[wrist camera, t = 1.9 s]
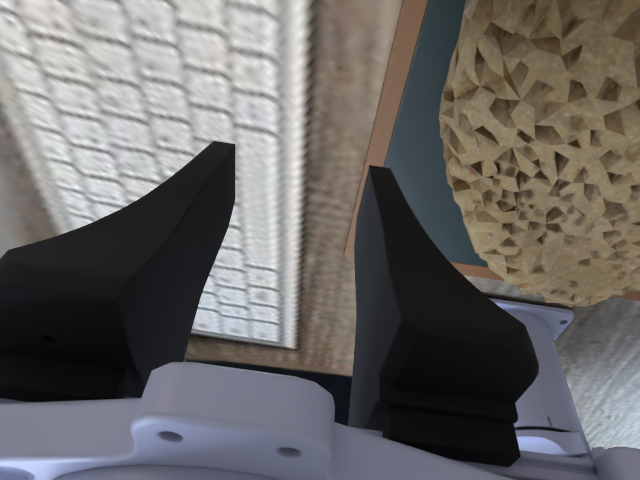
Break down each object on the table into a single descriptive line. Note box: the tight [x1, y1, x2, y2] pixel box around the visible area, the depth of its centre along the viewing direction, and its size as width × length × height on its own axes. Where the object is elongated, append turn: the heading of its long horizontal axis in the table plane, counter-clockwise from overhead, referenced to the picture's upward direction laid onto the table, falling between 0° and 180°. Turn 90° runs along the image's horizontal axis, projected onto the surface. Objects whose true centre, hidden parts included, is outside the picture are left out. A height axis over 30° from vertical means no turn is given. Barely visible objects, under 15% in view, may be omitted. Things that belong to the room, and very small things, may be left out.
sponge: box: [439, 0, 640, 307], centre depth 19 cm, size 13×8×20 cm
